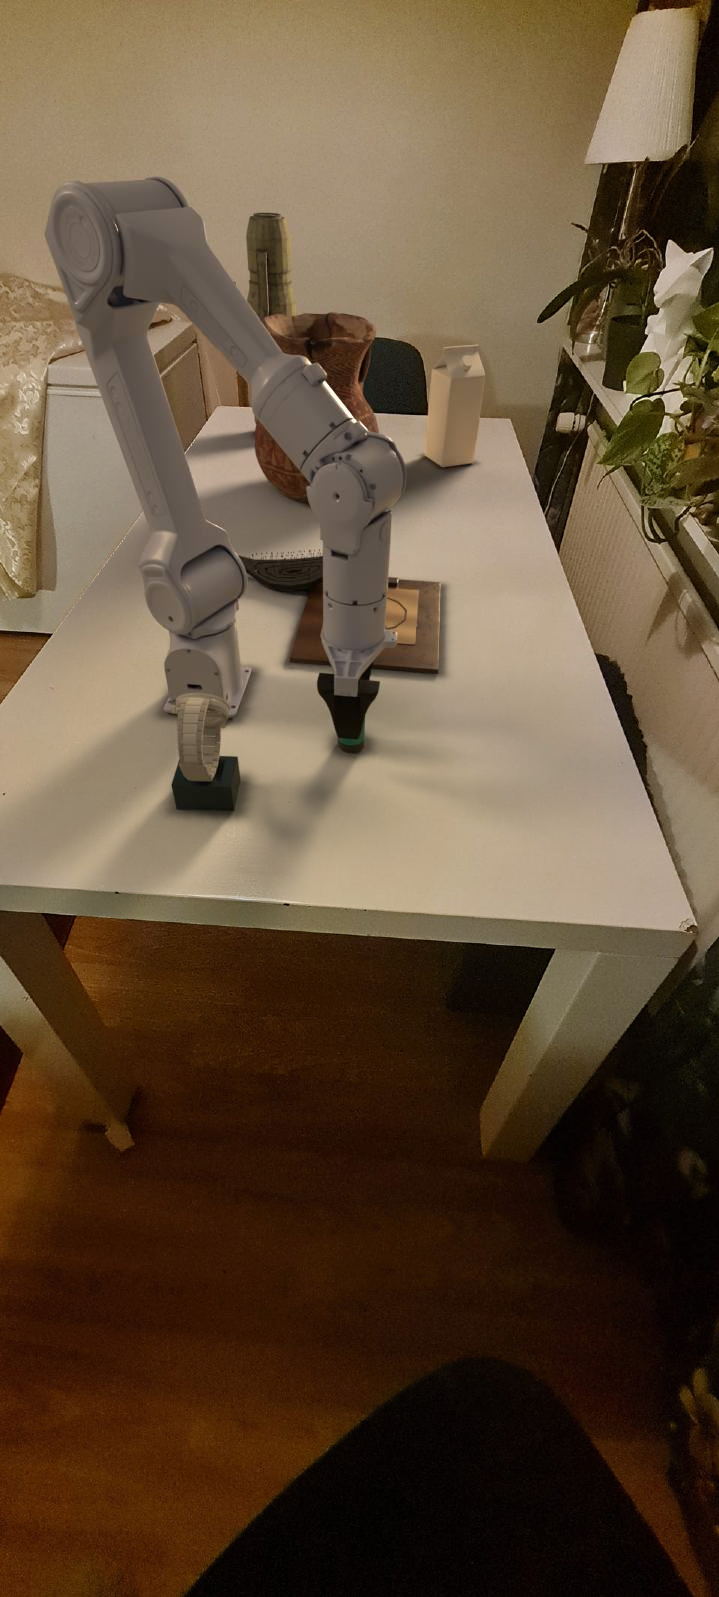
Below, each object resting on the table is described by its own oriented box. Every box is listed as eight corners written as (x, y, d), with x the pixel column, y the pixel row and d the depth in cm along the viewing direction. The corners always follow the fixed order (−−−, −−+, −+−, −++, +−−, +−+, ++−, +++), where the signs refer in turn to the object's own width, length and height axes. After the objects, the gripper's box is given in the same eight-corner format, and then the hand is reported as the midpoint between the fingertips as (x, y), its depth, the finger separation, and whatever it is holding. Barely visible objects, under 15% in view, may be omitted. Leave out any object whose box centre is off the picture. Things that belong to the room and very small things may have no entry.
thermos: (302, 426, 149) (297, 211, 124) (296, 445, 140) (289, 218, 116) (260, 424, 149) (246, 209, 124) (251, 443, 140) (235, 216, 116)
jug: (367, 519, 116) (374, 342, 98) (243, 507, 118) (228, 331, 100) (384, 471, 132) (393, 311, 114) (275, 461, 134) (267, 302, 116)
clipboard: (437, 673, 85) (438, 665, 84) (289, 661, 86) (289, 653, 85) (440, 585, 100) (441, 578, 100) (314, 576, 101) (314, 568, 100)
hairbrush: (177, 538, 103) (347, 539, 99) (183, 562, 105) (349, 564, 102) (158, 564, 97) (338, 566, 93) (165, 589, 99) (340, 592, 96)
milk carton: (423, 455, 138) (433, 342, 125) (455, 451, 141) (468, 339, 127) (441, 468, 134) (454, 352, 121) (473, 463, 136) (489, 349, 123)
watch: (243, 767, 72) (232, 676, 64) (231, 824, 66) (218, 732, 58) (187, 765, 72) (171, 674, 64) (171, 822, 66) (150, 730, 58)
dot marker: (363, 754, 74) (366, 700, 69) (335, 752, 74) (335, 697, 69) (366, 736, 76) (368, 682, 71) (338, 734, 76) (339, 680, 71)
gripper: (395, 636, 57) (386, 762, 66) (404, 556, 67) (395, 675, 77) (309, 629, 57) (312, 756, 67) (331, 551, 68) (331, 670, 77)
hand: (352, 712), depth 72 cm, fingers open, 7 cm apart
